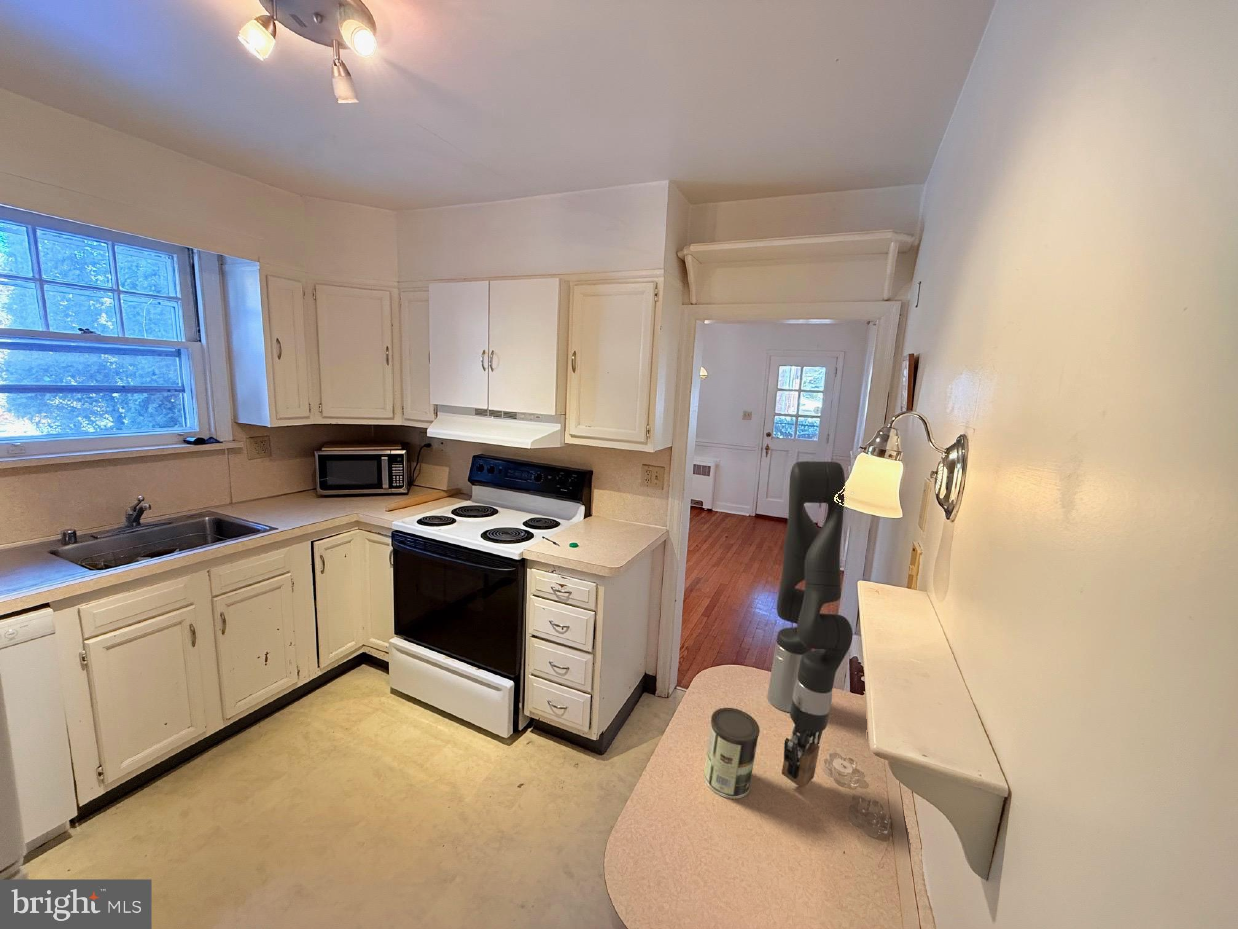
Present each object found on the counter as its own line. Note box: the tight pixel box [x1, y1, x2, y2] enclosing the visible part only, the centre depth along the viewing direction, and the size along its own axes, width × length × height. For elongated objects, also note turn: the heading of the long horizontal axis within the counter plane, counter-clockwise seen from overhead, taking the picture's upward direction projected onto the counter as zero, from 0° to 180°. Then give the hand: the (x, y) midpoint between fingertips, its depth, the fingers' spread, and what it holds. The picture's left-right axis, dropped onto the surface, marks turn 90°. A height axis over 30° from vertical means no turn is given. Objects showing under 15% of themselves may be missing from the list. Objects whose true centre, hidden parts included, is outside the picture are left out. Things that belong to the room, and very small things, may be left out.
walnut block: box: [781, 738, 820, 790], centre depth 107 cm, size 5×5×8 cm
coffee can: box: [703, 707, 760, 800], centre depth 106 cm, size 10×10×14 cm
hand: (798, 769), depth 107 cm, fingers closed on walnut block, 5 cm apart
